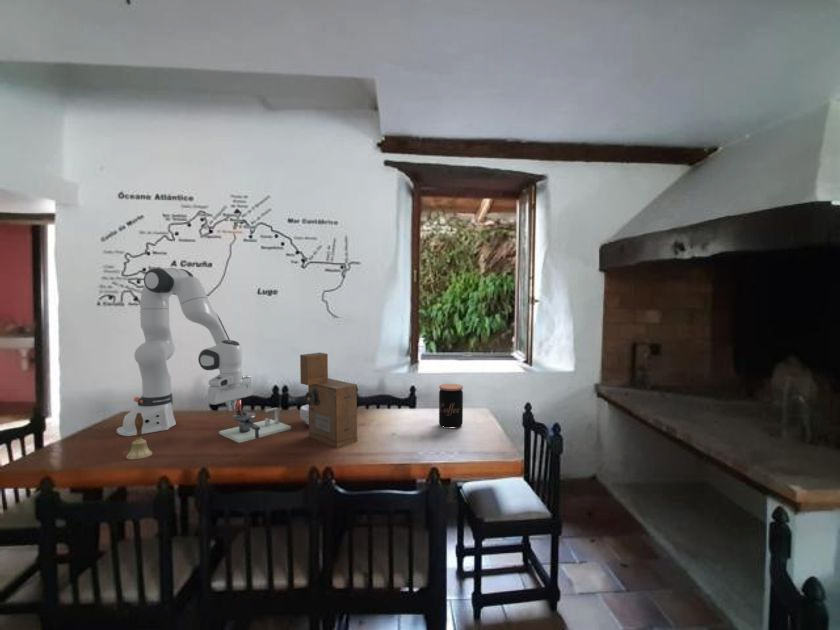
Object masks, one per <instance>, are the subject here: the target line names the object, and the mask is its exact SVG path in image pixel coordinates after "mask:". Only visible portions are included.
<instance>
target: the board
mask: <svg viewBox="0 0 840 630" xmlns="http://www.w3.org/2000/svg"><path fill="white" fill-rule="evenodd" d="M241 412H242V415H246V414H247V412H248V411H247V410H244V411H241ZM269 419H270V426H265V419H264V420H261V421H257V422H252V423H253V424H255V425H257V426H259V427H260V430H259V438H264V437H266V436H270V435H275V434H278V433H282V432H285V431H286V432H287V431H289V430H292V426H291V425H288V424H286V423H284V422H280V424H276V423H275V419H271V418H269ZM218 434H219V435H220V436H222V437H225V438H228V439H230V440H232V441H233V442H236V443H238V444H240V443H244V442H247V441H253V440H255V439H257V438H255V430H254V429H252V428H250V431H248V432H239V426H235V427H232V428H227V429H224V430H219V431H218Z"/></svg>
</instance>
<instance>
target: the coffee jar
mask: <svg viewBox="0 0 840 630" xmlns="http://www.w3.org/2000/svg"><path fill="white" fill-rule="evenodd" d="M438 388H439V391H438V393H439V394H438V422H439V425H440V427H442V426H444V427H459V426H461V427H462V425H463V422H464V421H463V417H464V416H463V415H464V414H463V411H464V409H463V407H464V405H463V404H464V401H463V400H464V399H463V398H464V395H463V393H464V392H463V388H464V386H463V385H461V384H457V383H443V384H439V387H438ZM444 427H443V428H444ZM459 428H460V427H459Z"/></svg>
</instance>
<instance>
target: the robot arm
mask: <svg viewBox="0 0 840 630" xmlns="http://www.w3.org/2000/svg"><path fill="white" fill-rule="evenodd" d="M143 283H144V286H143V287H142V289H141V294H140V301H139V302H140V304H139V307H140V311H139V314H140V315H139V316H140V320H139V321H140V328H141V329H142V332H143V335H144V340H145V342H142V343H140V345H139V346H138V347H137V348H136V349H135V352H134V356H133V357H134V360H135V361H136V363H137V365H138V369H139V372H140V377H141V384H142V385H141V386H142V387H141V388H142V392H141V393H142V395H141V396H140V397H138V396H136V397H134V398H133V401H134V402H136V403H137V406H136V407H135V408H133V409H132V410H131V411H129V412H128V413H127V414H125V416H124V418H123V421H122V426H120V427H118V428H116V434H118V435H120V436H123V437H132V436H133V437H134V436H137V429H136V426H135V418H136V415H137V413H141V415H142V418H143V426H142V435H144V434H149V433H156V432H161V431H167V430H169V429H170V428H172V427H175V425H176V424H177V422H176V419H175V415H174V412H173V410H174V409H173V402H174V399H173V393H172V383H171V382H172V381H171V374H170V372H169V370H168V366H167V361H168V360H170V359H171V358H172V357H173V355H174V352H175V350H176V349H175V345H174V342H173V337H172V332H171V327H170V302H169V301H170V297H171V296H172V295H174V296H176V297H177V299H178V302H179V305H180V308H181V311H182V314H183V315H184V316H185V319H187V320H188V321H190V322H192V323H196V324H198V325H201V326H203V327H205V328H206V329H207V330H208V331H209V333H210V335H211V337H212V339H213V341H214V343H215V345H213V346H212V347H208V348H205V349H203V350H201V351H200V352H199V354H198V364H199V366H200V367H201V369H203V370H205V371H215V370H218V371H219V374H217V376H214V377H213V378H211V379H209V380H208V385H209V387H208V388H207V403H208V404H210V405H214V406H215V405H218V404H223V403H225V405H226V407H227V411H228V412H233V411H235V405H236V403H237V399H244V398H248V397H251V396H253V392H254V391H253V383H252V377H251V376H250V375H248V374H247V375H243V369H242V362H243V361H242V360H243V358H242V357H243V356H242V355H243V354H242V347H241V344H240V343H239V342H238V341H237V340H231V338H230V336H229V335H228V333H227V330H226V329H225V327H224V324H223V322H222V320H221V318H220V316H219V315H218V314H217V313H216V312H215V310H214V309H213V307H212V305H211V303H210V301H209V298H208V295H207V292H206V290H205V288H204V287H203V284H202V282H201V281H200V279H199V278H197V277H195V276H194V274H193V273H191V272H190V271H189V270H187V269H184V268H174V267H165V268H164V267H161V268H160V267H155V268H151V269H149V270H147V271H146V272H145V274H144V277H143Z"/></svg>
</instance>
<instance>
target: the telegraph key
mask: <svg viewBox="0 0 840 630" xmlns="http://www.w3.org/2000/svg"><path fill="white" fill-rule="evenodd" d="M234 411H235V414H233V416H232V420H233V421H235V422H238V427H239V432H248V431H250V428H252V429H254V430H255V438H256V439H259V438H260V437H259V430H260V427H259V426H257V425H255V424H253V423H254V422H252V421H251V420H254V419H256V418H257V415H256V413H255V412H250V411H249V412H248V411H247V414H246V415H242V412H243V411H242V398H240V399H237V403H236V405H235V410H234Z"/></svg>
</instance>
